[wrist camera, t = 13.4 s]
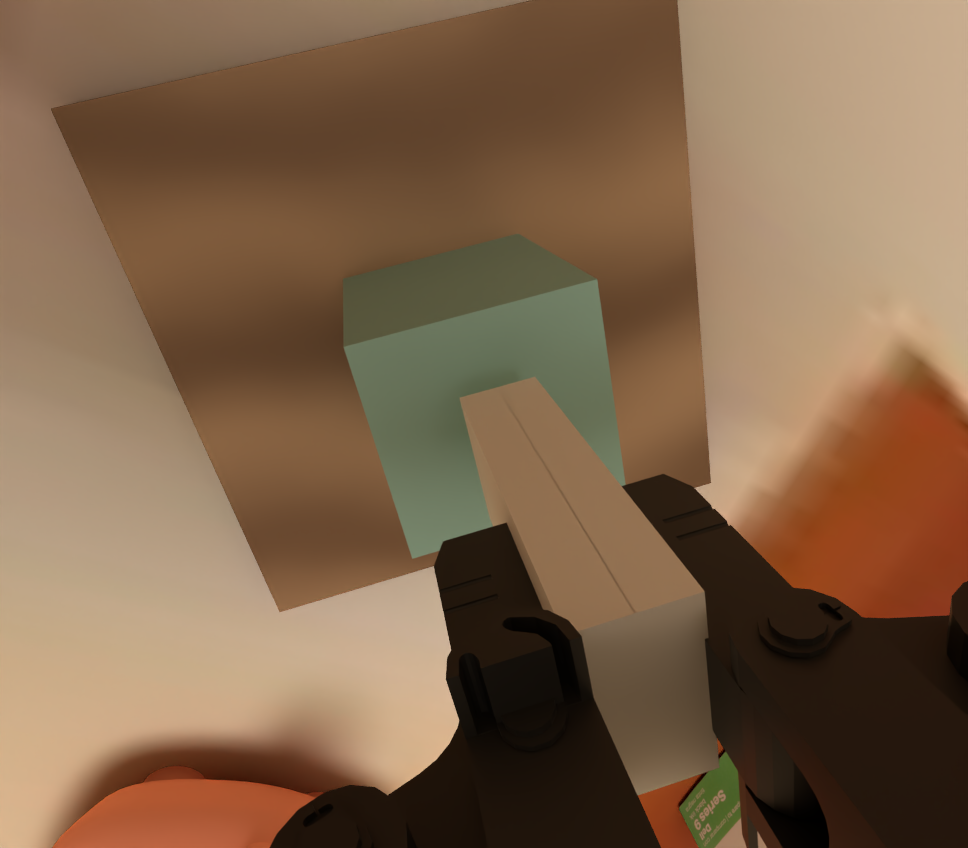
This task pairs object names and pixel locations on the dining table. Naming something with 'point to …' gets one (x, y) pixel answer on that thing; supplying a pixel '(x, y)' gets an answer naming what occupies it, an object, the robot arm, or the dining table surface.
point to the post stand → (397, 242)
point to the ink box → (716, 809)
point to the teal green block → (470, 368)
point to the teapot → (186, 814)
